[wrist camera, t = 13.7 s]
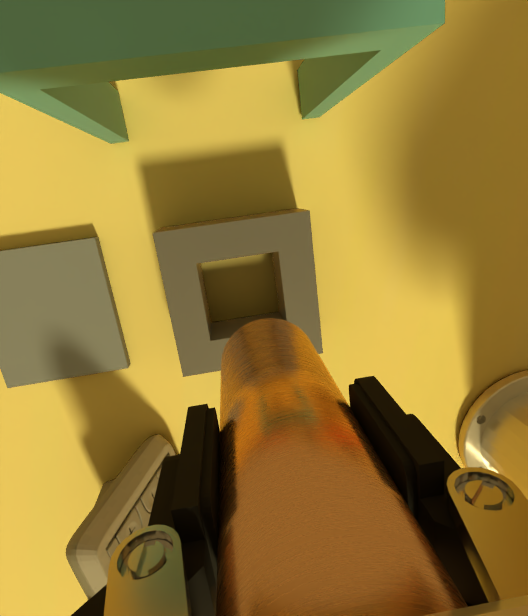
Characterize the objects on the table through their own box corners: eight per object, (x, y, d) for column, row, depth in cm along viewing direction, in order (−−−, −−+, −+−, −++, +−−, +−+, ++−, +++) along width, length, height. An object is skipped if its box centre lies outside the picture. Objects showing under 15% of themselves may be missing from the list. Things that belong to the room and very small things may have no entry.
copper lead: (319, 397, 17) (508, 797, 6) (229, 412, 17) (239, 860, 6) (310, 310, 16) (523, 596, 5) (213, 326, 16) (185, 666, 4)
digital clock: (220, 569, 38) (221, 707, 28) (124, 583, 37) (89, 730, 27) (203, 423, 33) (196, 524, 23) (93, 435, 32) (36, 546, 22)
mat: (130, 363, 31) (128, 368, 30) (12, 383, 30) (7, 388, 29) (97, 236, 28) (94, 237, 27) (-34, 255, 27) (-41, 257, 26)
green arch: (319, 117, 27) (444, 23, 12) (110, 143, 26) (-35, 77, 11) (314, 68, 26) (445, -99, 11) (99, 93, 25) (-77, -53, 10)
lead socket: (310, 333, 32) (322, 353, 28) (187, 354, 31) (183, 376, 27) (297, 208, 29) (309, 210, 25) (161, 227, 28) (152, 233, 24)
